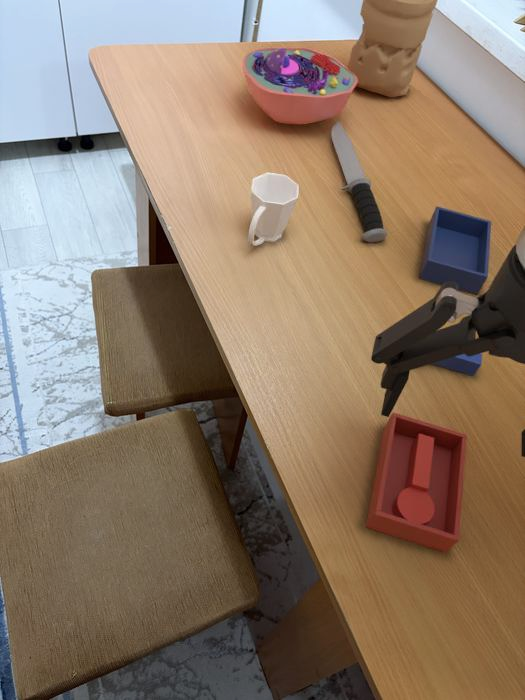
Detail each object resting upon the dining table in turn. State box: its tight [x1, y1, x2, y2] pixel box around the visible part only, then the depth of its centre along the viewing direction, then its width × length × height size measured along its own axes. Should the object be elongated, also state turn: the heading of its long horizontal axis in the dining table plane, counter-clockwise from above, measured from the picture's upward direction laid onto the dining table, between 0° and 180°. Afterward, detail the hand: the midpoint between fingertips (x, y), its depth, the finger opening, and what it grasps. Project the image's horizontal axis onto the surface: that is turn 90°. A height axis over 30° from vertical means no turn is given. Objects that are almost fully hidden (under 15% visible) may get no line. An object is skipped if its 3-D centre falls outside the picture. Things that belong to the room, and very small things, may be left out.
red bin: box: [365, 412, 468, 553], centre depth 63 cm, size 12×8×4 cm
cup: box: [247, 171, 300, 247], centre depth 83 cm, size 7×10×8 cm
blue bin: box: [418, 206, 492, 295], centre depth 86 cm, size 12×8×4 cm
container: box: [347, 0, 438, 98], centre depth 108 cm, size 13×13×18 cm
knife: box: [330, 119, 388, 243], centre depth 95 cm, size 29×3×5 cm
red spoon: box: [392, 433, 435, 525], centre depth 63 cm, size 10×4×3 cm, turn 164°
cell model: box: [242, 46, 358, 125], centre depth 102 cm, size 17×20×11 cm
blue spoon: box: [431, 353, 483, 377], centre depth 75 cm, size 10×4×3 cm, turn 74°
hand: (455, 425), depth 57 cm, fingers open, 13 cm apart
